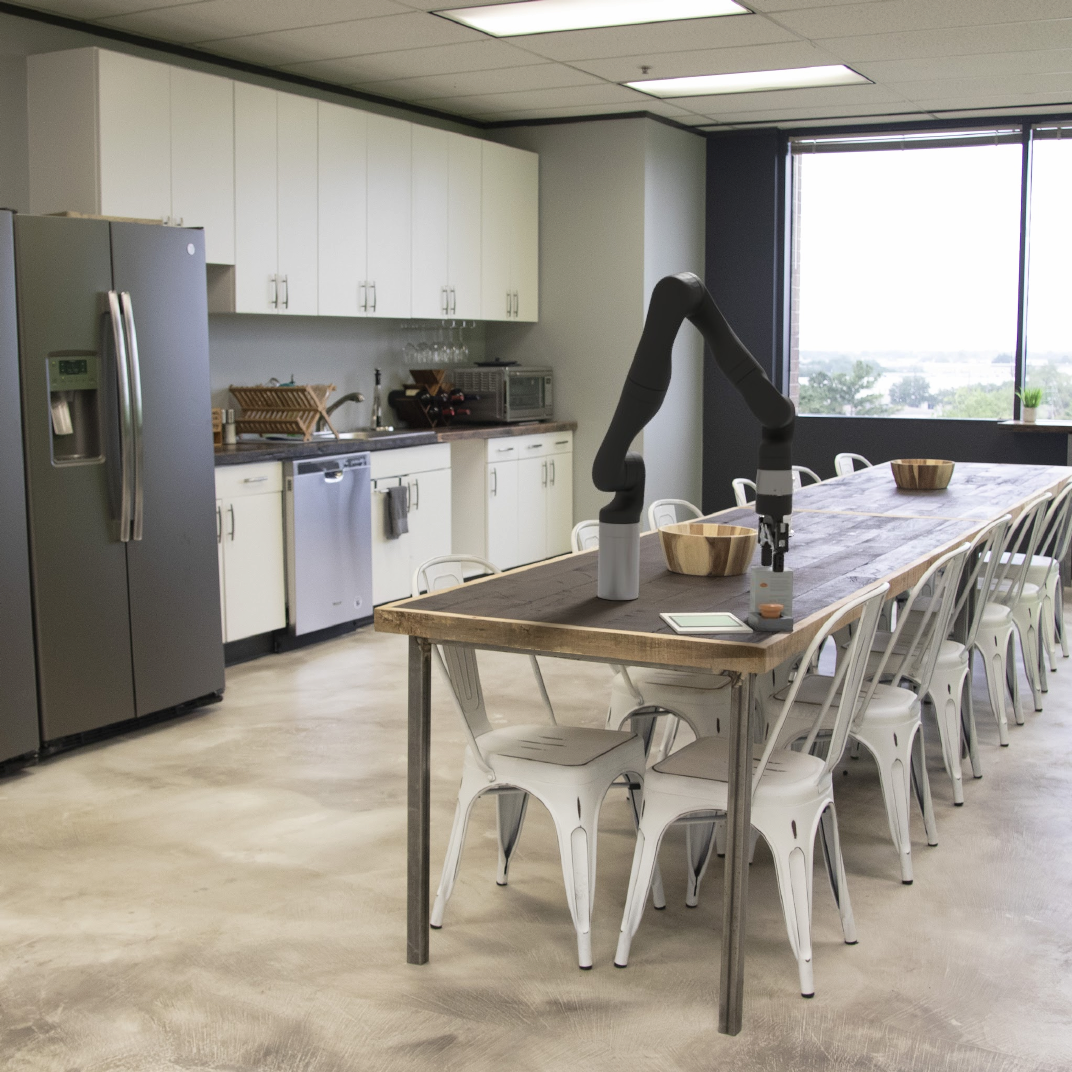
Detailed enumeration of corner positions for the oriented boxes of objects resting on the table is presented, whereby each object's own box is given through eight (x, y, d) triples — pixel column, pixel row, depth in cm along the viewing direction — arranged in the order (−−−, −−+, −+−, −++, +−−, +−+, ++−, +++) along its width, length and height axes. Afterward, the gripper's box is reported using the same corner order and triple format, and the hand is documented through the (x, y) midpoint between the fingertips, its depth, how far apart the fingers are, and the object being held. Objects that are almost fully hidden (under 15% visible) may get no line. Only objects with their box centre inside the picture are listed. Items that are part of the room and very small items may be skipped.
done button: (755, 618, 259) (756, 603, 258) (778, 617, 259) (779, 603, 259) (762, 622, 254) (762, 608, 254) (785, 622, 255) (786, 607, 254)
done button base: (748, 624, 260) (748, 612, 260) (782, 623, 261) (782, 611, 260) (757, 631, 253) (758, 619, 253) (793, 631, 254) (793, 618, 253)
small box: (786, 615, 270) (788, 566, 269) (792, 620, 264) (794, 570, 263) (748, 615, 270) (750, 566, 268) (754, 620, 264) (755, 570, 263)
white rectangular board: (659, 616, 267) (659, 612, 267) (729, 615, 269) (729, 611, 269) (678, 634, 250) (678, 630, 250) (752, 633, 251) (753, 629, 251)
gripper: (747, 488, 270) (745, 564, 272) (766, 494, 256) (764, 574, 258) (781, 488, 271) (779, 563, 273) (802, 494, 257) (800, 574, 259)
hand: (772, 569), depth 265 cm, fingers open, 8 cm apart
